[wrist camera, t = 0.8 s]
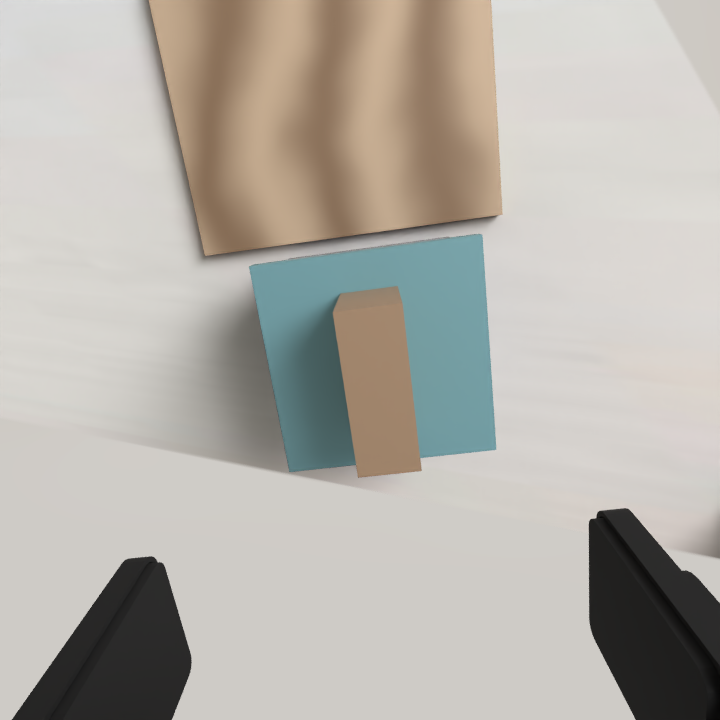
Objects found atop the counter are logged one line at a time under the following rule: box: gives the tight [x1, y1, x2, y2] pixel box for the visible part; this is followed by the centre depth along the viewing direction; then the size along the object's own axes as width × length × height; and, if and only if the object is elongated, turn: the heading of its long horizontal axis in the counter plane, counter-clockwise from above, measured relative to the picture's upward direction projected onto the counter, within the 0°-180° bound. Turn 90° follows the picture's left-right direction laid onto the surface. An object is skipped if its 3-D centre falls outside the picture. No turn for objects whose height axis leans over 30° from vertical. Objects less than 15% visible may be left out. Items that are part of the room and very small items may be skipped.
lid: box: [249, 234, 496, 478], centre depth 26 cm, size 12×12×8 cm
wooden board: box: [149, 0, 502, 256], centre depth 31 cm, size 20×16×1 cm
